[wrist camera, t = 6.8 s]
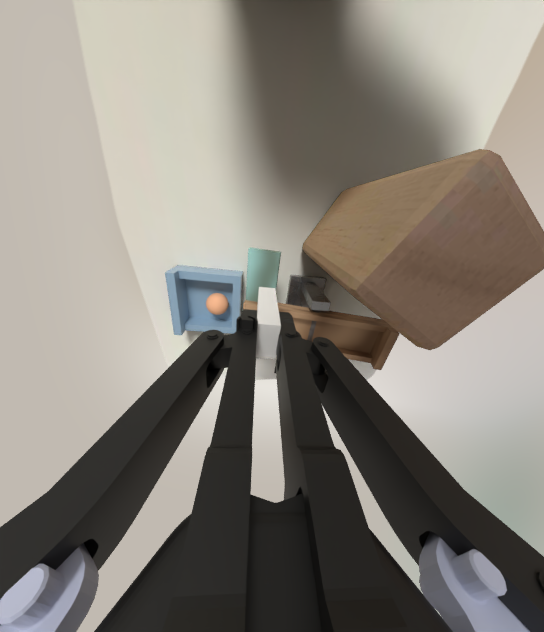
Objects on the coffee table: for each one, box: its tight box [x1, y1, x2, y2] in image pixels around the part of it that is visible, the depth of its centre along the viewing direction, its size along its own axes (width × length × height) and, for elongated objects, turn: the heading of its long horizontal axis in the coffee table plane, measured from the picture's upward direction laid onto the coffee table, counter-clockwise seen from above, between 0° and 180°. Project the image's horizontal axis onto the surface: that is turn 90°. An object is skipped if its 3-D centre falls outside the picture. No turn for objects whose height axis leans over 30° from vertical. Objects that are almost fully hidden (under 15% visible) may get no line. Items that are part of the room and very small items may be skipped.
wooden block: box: [302, 149, 544, 350], centre depth 21 cm, size 10×10×20 cm
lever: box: [243, 248, 399, 370], centre depth 25 cm, size 20×13×4 cm, turn 83°
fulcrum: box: [286, 275, 331, 311], centre depth 31 cm, size 6×11×9 cm, turn 173°
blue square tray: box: [165, 265, 243, 335], centre depth 32 cm, size 10×10×4 cm
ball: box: [206, 293, 229, 315], centre depth 32 cm, size 4×4×4 cm
